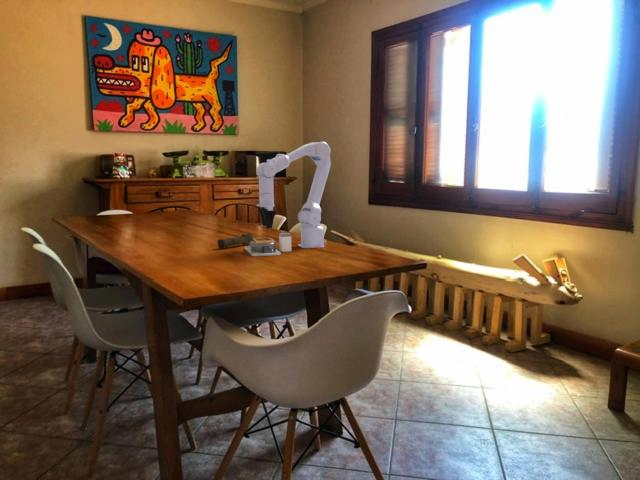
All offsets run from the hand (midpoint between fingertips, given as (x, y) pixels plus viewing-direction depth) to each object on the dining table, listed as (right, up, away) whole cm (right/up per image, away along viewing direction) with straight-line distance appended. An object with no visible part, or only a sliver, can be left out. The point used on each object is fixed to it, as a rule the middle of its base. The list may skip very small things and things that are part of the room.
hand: (267, 227), depth 207 cm
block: (+7, -10, 0) cm, 12 cm away
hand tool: (-17, -12, +6) cm, 22 cm away
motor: (-1, -10, -3) cm, 10 cm away
